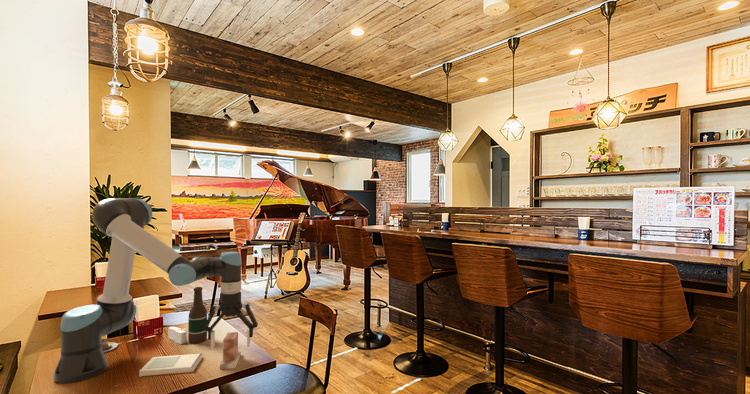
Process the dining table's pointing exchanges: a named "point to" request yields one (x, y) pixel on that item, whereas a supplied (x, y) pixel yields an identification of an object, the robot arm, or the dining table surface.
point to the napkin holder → (177, 335)
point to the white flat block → (171, 364)
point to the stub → (230, 351)
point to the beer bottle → (197, 319)
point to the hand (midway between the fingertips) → (230, 346)
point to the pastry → (107, 345)
